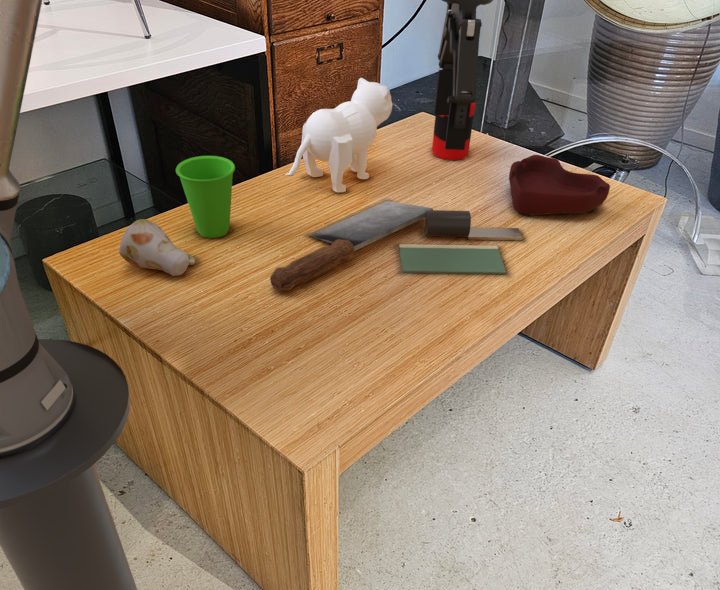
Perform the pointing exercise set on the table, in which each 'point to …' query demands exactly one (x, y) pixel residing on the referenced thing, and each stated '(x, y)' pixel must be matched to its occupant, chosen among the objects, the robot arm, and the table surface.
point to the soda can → (440, 137)
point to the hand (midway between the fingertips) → (448, 130)
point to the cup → (208, 192)
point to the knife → (464, 227)
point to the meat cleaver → (347, 241)
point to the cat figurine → (344, 133)
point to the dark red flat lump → (553, 188)
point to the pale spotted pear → (153, 249)
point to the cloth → (451, 259)
